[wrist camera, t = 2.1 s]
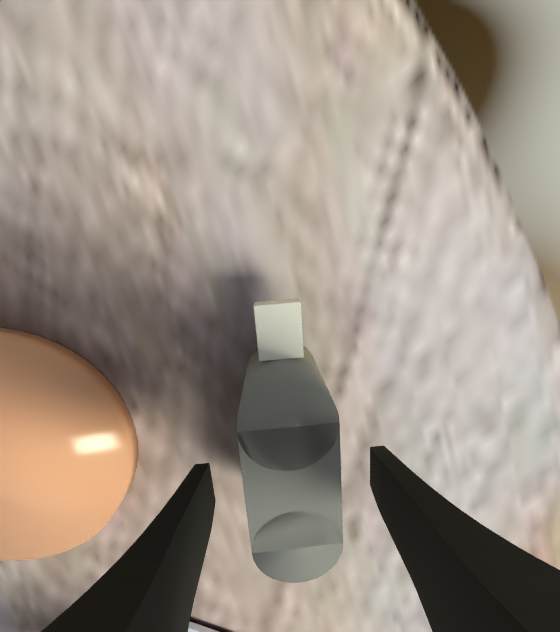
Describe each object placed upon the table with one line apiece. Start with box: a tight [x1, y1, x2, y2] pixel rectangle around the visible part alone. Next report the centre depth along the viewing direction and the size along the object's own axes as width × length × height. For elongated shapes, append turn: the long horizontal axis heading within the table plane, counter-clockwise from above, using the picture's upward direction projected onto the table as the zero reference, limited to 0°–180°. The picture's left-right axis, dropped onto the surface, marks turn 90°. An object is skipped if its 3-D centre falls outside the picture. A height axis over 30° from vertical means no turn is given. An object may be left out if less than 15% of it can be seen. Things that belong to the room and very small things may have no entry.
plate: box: [0, 328, 138, 560], centre depth 14 cm, size 14×14×1 cm
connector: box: [236, 299, 343, 583], centre depth 13 cm, size 12×4×5 cm, turn 4°
